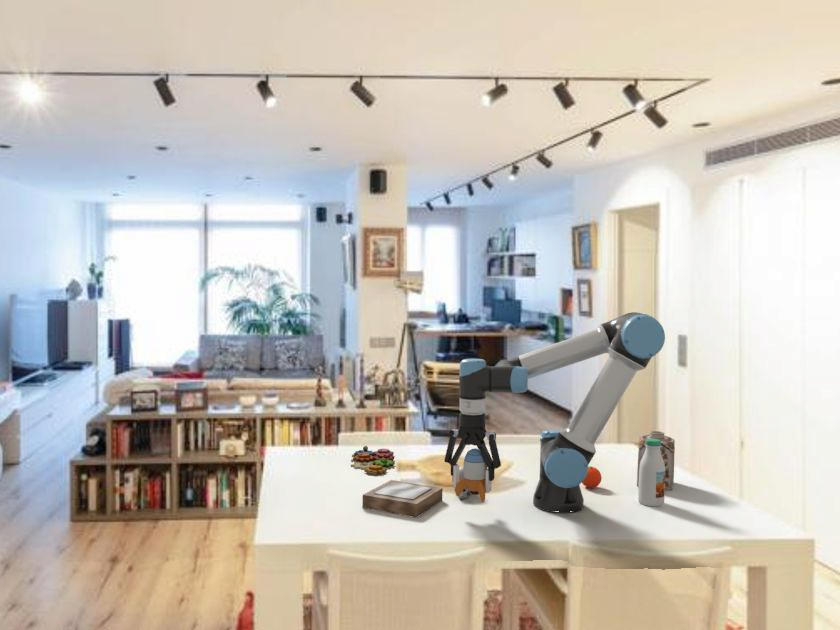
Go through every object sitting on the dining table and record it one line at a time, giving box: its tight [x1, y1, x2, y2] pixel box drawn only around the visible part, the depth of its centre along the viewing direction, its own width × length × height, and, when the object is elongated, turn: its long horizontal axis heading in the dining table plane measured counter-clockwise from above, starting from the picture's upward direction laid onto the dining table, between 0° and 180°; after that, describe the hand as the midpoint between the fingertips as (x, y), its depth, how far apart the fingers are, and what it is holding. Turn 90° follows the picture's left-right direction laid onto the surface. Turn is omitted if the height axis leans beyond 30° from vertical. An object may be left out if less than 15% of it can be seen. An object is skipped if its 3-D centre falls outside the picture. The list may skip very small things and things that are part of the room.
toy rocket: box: [454, 447, 488, 503], centre depth 215 cm, size 10×11×15 cm
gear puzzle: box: [350, 445, 396, 475], centre depth 272 cm, size 31×16×4 cm, turn 4°
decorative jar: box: [636, 430, 676, 491], centre depth 251 cm, size 12×12×18 cm
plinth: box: [361, 479, 443, 518], centre depth 226 cm, size 18×18×4 cm
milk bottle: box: [637, 438, 666, 507], centre depth 231 cm, size 8×8×20 cm
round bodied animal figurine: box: [451, 465, 472, 500], centre depth 236 cm, size 7×12×8 cm, turn 170°
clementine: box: [581, 465, 602, 489], centre depth 247 cm, size 8×7×7 cm
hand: (472, 489), depth 216 cm, fingers closed on toy rocket, 9 cm apart
